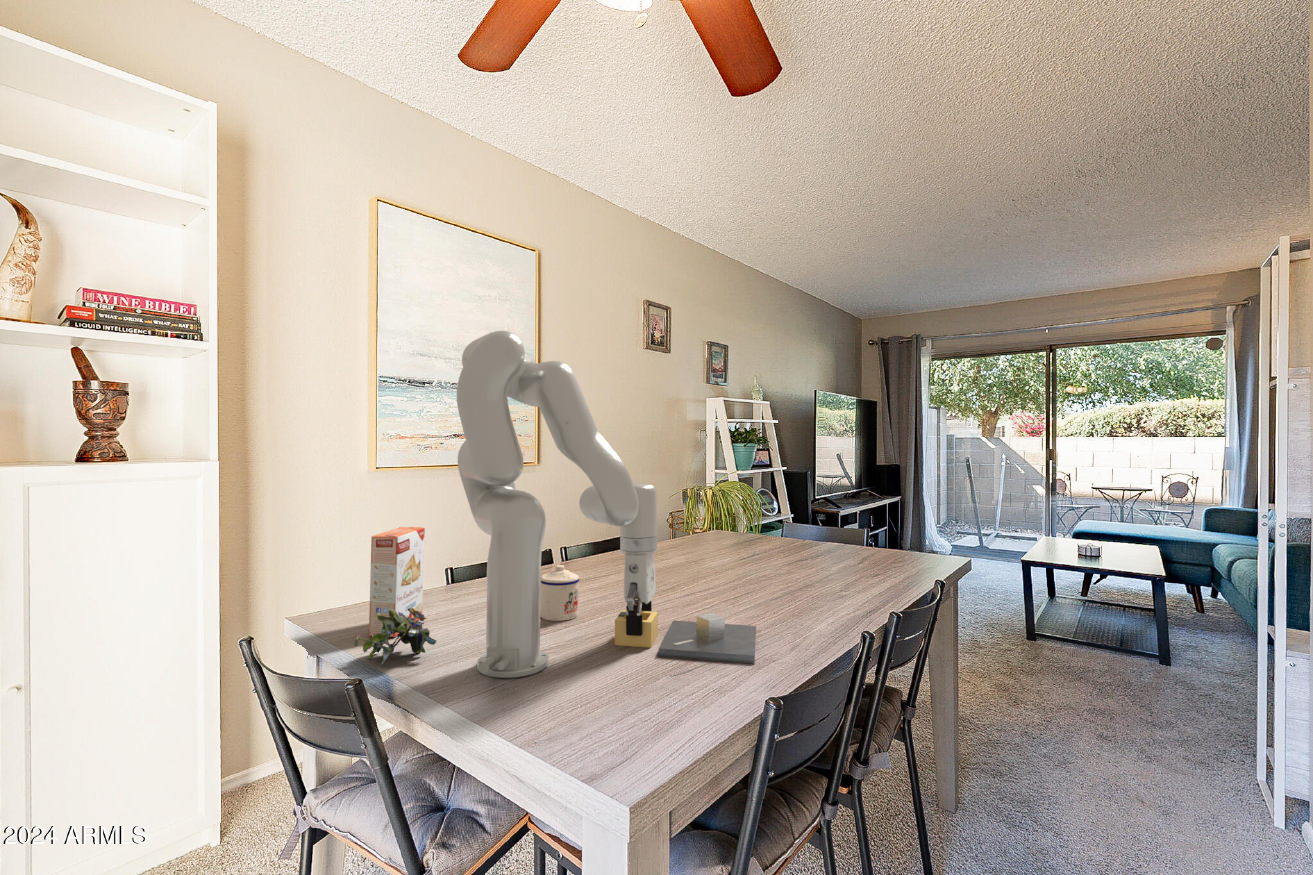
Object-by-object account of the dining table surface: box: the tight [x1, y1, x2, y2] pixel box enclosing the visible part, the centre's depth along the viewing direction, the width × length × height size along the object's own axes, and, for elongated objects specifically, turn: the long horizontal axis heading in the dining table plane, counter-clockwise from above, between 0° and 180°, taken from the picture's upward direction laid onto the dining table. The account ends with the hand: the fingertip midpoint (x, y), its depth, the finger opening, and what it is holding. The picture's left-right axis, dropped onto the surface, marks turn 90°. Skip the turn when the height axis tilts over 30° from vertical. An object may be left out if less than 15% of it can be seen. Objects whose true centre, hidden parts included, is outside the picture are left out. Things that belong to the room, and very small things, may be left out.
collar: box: [614, 609, 659, 649], centre depth 123 cm, size 7×7×5 cm
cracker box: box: [368, 526, 426, 638], centre depth 129 cm, size 14×6×21 cm, turn 179°
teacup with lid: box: [540, 564, 580, 622], centre depth 141 cm, size 12×9×12 cm
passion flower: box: [353, 608, 437, 666], centre depth 111 cm, size 11×11×12 cm
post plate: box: [658, 612, 757, 665], centre depth 121 cm, size 18×18×6 cm
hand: (639, 627), depth 123 cm, fingers open, 9 cm apart
